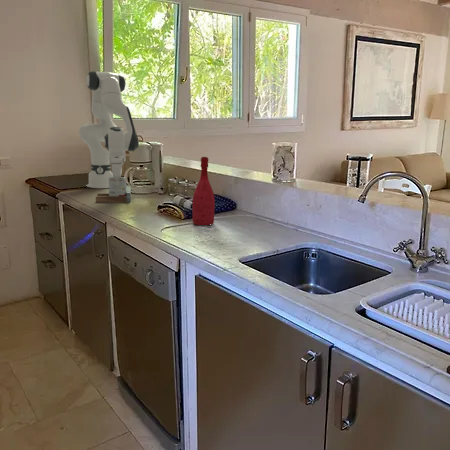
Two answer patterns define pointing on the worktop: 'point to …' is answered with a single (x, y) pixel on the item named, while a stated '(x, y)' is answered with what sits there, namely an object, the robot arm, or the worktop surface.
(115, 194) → the ink box
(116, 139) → the robot arm
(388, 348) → the worktop surface
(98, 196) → the guide channel
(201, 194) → the wine bottle
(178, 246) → the worktop surface
